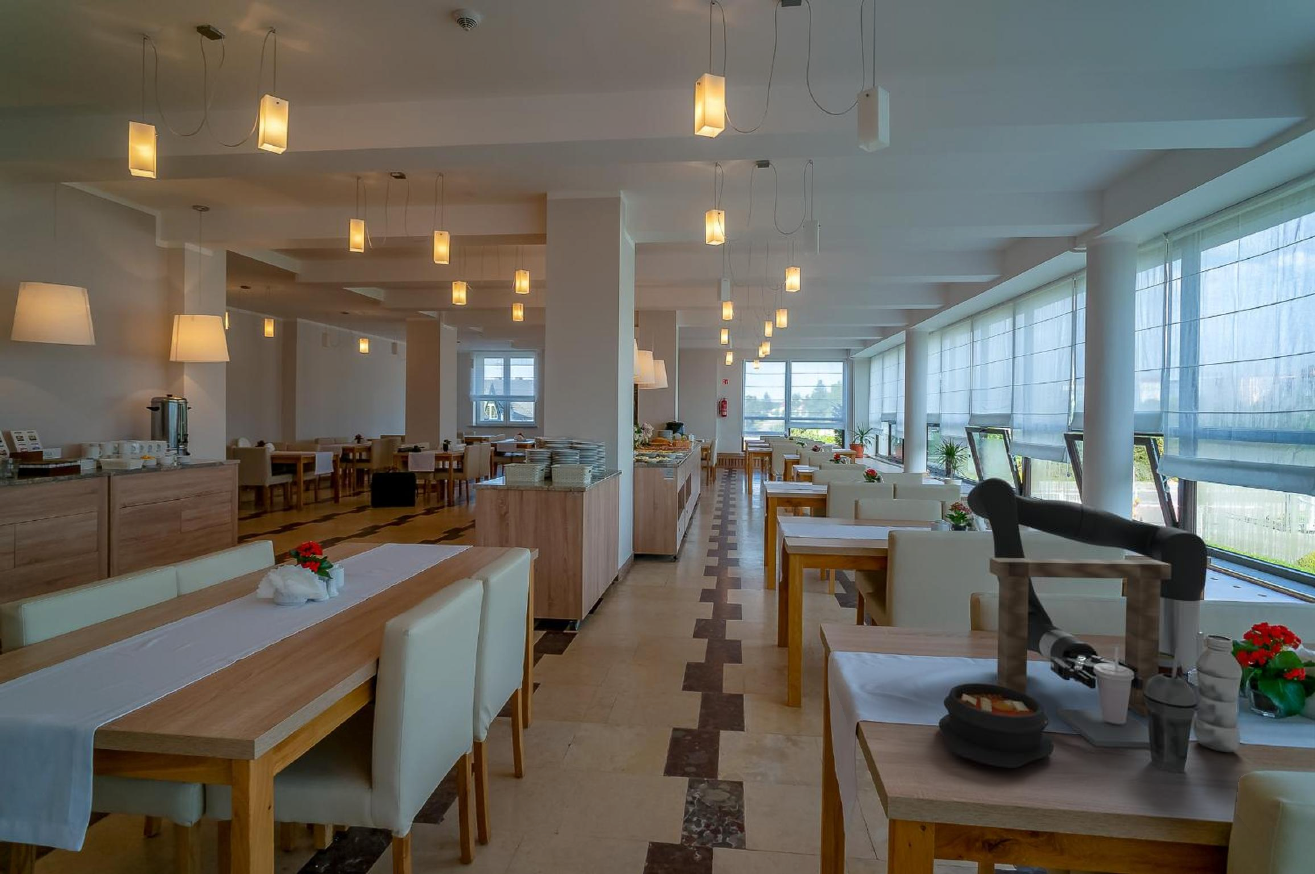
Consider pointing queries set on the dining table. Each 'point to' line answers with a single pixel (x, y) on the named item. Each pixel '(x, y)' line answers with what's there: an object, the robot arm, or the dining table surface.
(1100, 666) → the smoothie
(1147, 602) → the archway
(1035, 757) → the casserole
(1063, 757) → the dining table surface
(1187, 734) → the beverage cup
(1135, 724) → the mat
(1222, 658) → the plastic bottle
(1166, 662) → the mate gourd
